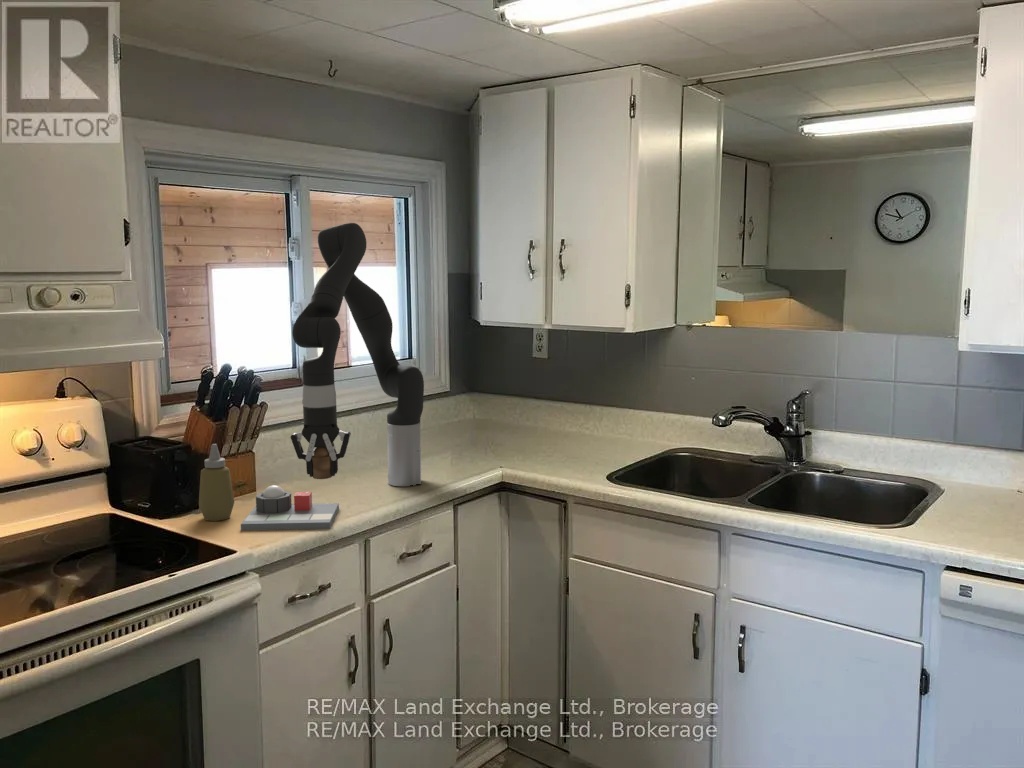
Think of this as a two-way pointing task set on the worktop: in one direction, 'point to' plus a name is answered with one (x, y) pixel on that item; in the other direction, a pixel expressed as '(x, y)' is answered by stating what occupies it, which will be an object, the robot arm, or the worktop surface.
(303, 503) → the red die
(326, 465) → the cylinder
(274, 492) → the dome
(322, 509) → the board
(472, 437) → the worktop surface
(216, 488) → the squeeze bottle
